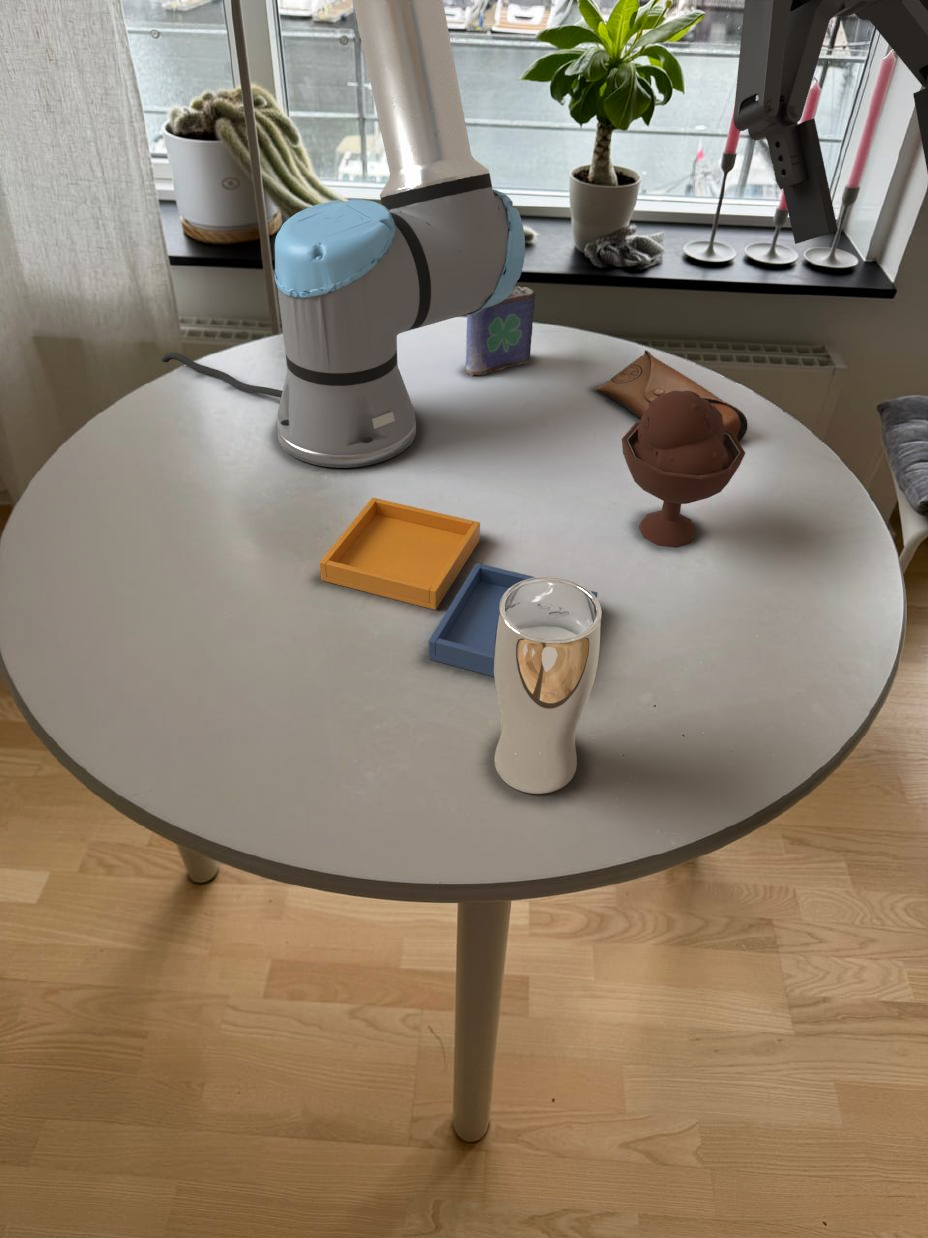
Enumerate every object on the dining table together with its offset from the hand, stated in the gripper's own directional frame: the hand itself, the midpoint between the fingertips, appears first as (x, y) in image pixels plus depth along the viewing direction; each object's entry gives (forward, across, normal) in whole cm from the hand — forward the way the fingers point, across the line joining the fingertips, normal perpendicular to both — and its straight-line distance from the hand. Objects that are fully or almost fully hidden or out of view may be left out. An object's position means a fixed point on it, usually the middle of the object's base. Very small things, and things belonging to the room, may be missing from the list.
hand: (887, 211), depth 62 cm
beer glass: (+29, -30, +15) cm, 44 cm away
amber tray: (+16, -25, +38) cm, 48 cm away
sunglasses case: (+15, +15, +45) cm, 49 cm away
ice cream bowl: (+22, -1, +30) cm, 37 cm away
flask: (+4, +6, +62) cm, 63 cm away
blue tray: (+23, -22, +26) cm, 41 cm away
